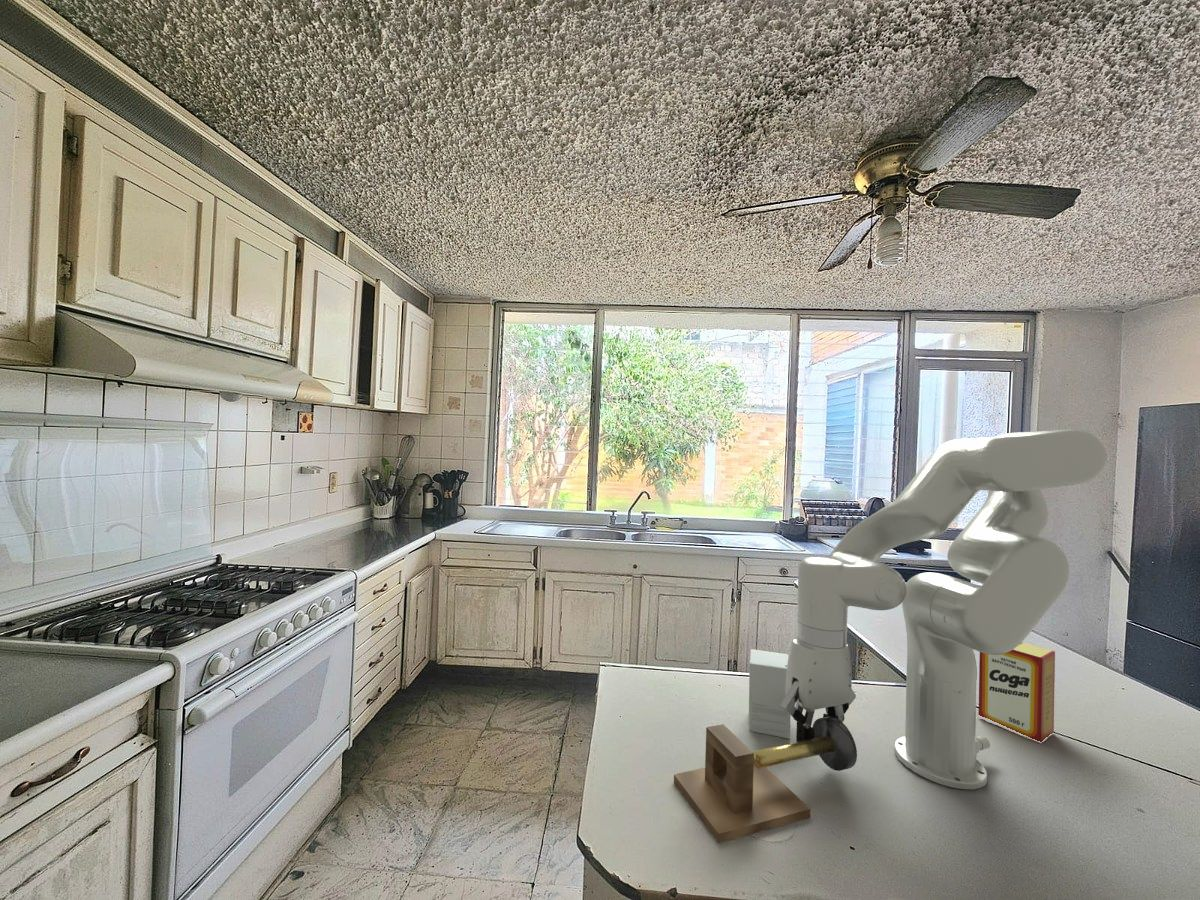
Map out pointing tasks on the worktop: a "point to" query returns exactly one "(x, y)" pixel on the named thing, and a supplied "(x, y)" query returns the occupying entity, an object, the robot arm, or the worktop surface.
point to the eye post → (737, 790)
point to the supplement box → (768, 693)
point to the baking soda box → (1019, 690)
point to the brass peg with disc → (815, 747)
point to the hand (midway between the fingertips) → (818, 744)
